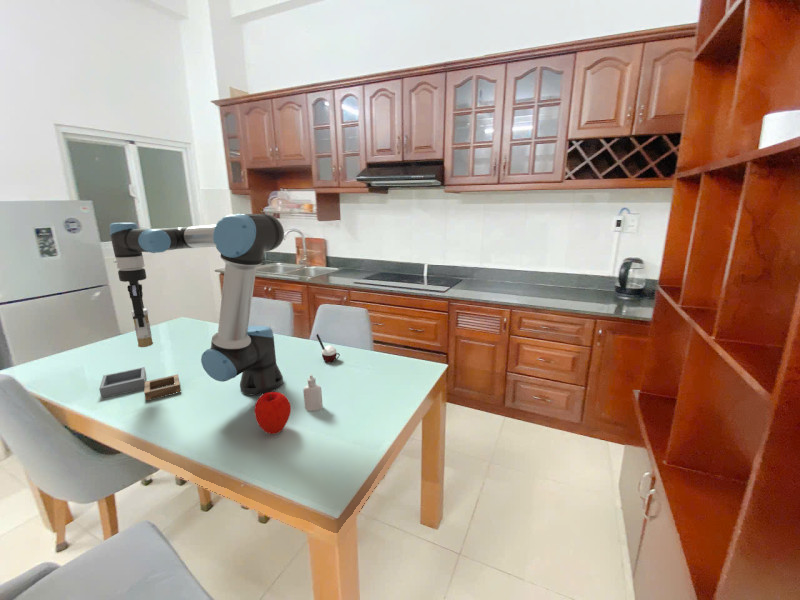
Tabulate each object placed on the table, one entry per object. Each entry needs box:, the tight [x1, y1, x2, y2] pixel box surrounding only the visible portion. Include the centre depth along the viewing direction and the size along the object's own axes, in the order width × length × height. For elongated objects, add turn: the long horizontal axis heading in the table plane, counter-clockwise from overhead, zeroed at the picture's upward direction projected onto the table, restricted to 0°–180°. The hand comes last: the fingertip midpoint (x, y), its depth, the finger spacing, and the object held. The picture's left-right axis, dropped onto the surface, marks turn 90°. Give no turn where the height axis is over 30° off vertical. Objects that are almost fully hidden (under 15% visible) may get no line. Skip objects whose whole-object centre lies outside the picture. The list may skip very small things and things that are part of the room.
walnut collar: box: [143, 374, 182, 401], centre depth 131 cm, size 11×11×3 cm
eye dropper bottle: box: [302, 374, 324, 412], centre depth 116 cm, size 4×6×12 cm
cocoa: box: [316, 333, 340, 363], centre depth 154 cm, size 10×6×12 cm, turn 64°
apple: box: [253, 391, 292, 435], centre depth 104 cm, size 10×10×12 cm
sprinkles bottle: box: [131, 307, 154, 348], centre depth 126 cm, size 5×5×13 cm
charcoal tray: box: [99, 366, 147, 399], centre depth 135 cm, size 13×13×4 cm
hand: (143, 333), depth 127 cm, fingers closed on sprinkles bottle, 4 cm apart
